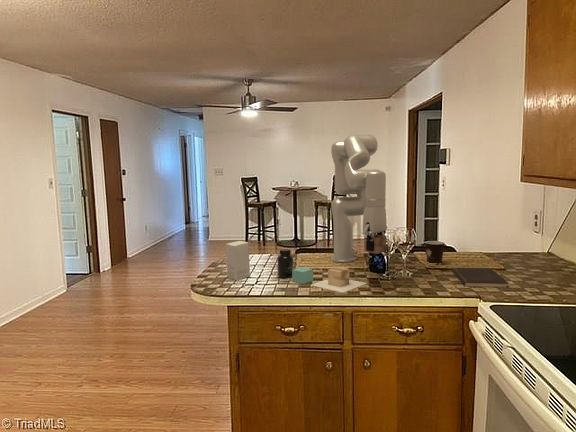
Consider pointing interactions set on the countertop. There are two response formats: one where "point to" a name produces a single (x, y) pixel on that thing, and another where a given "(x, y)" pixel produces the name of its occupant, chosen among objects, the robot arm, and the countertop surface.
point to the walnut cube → (377, 244)
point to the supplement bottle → (285, 264)
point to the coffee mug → (434, 251)
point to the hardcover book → (479, 277)
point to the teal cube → (302, 275)
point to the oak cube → (338, 276)
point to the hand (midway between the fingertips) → (375, 248)
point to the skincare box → (238, 260)
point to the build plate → (342, 289)
